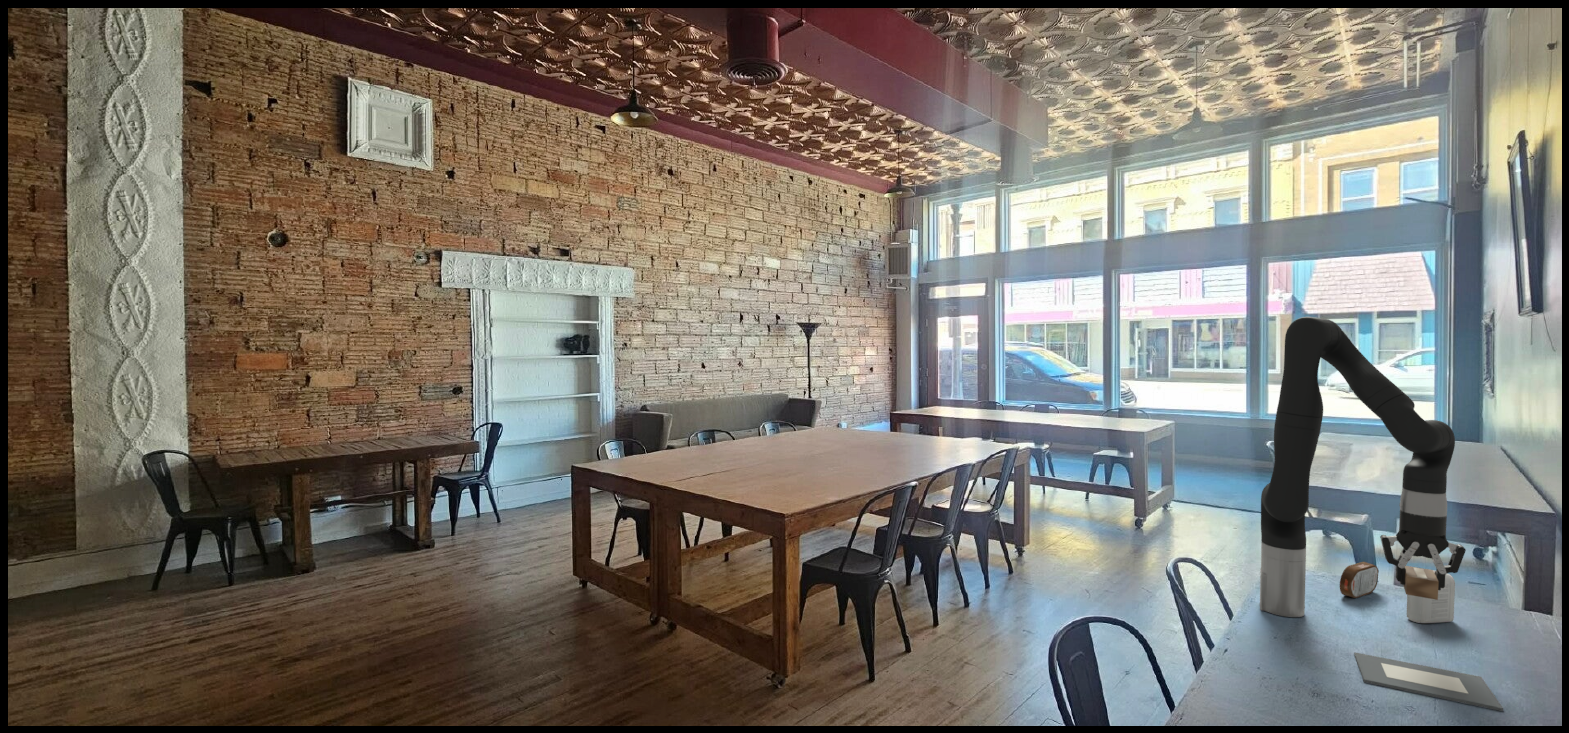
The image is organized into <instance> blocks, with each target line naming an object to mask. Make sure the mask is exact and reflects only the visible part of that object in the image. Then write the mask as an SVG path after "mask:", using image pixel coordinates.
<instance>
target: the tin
mask: <svg viewBox="0 0 1569 733" xmlns="http://www.w3.org/2000/svg"><path fill="white" fill-rule="evenodd" d="M1378 578H1379V568H1378V566H1377V565H1375V564H1372V563H1370V562H1367V561H1361V562H1358V563H1354V564H1350V565H1348V566H1345V569H1344V570H1343V572H1342V573H1341V576H1340V580H1339V591H1340V593H1341V594H1342V595H1343V596H1347V597H1349V598H1352V599H1358V598H1361V597H1364V596H1366V595H1370V594H1372V593H1373V592H1374V591H1375V590H1376V588H1377V585H1378Z"/></svg>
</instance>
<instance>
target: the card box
mask: <svg viewBox="0 0 1569 733" xmlns="http://www.w3.org/2000/svg"><path fill="white" fill-rule="evenodd" d="M1405 569H1406V572H1405V585H1402V586H1403V590H1404V592H1405V595H1406V596H1407V595H1412V596H1418V597H1424V598H1429V599H1435V600H1438V583H1439V581H1438V579H1437V577H1436V575H1435V573H1434V571H1433V569H1429V568H1422V567H1415V566H1409V565H1406V566H1405Z"/></svg>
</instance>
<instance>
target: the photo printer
mask: <svg viewBox="0 0 1569 733" xmlns="http://www.w3.org/2000/svg"><path fill="white" fill-rule="evenodd" d="M1432 570H1433V569H1432ZM1433 571H1434V573H1435V571H1436V569H1435V570H1433ZM1406 596H1407V597H1406V618H1407V619H1408V620H1409V621H1411V622H1414V623H1418V624H1435V623H1450V622H1453V621H1454V620H1455V598H1456V597H1455V596H1456V582H1455V579H1454V577H1453V576H1452V575H1451V573H1447V574H1446V575H1445V587H1444V588H1441V590H1438V600H1435V599H1429V598H1424V597H1418V596H1412V595H1407V594H1406Z"/></svg>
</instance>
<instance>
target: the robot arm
mask: <svg viewBox="0 0 1569 733" xmlns="http://www.w3.org/2000/svg"><path fill="white" fill-rule="evenodd" d="M1283 352H1284V355H1283V356H1284V357H1283V358H1284V359H1283V373H1282V378H1281V383H1280V384H1281V385H1280V390H1279V391H1280V392H1279V399H1278V404H1277V407H1276V413H1275V420H1274V428H1273V450H1274V451H1273V452H1274V463H1273V469H1272V472H1271V473H1272V474H1271V478H1270V482H1268V484H1266V485H1265V486H1264V487H1263V489H1262V490H1261V496H1260V532H1261V533H1260V534H1261V541H1260V543H1261V546H1260V547H1261V548H1260V550H1261V551H1260V552H1261V553H1260V554H1261V555H1260V568H1259V569H1260V576H1259V578H1260V579H1259V610H1260V611H1263V612H1267V613H1269V614H1273V615H1276V616H1280V617H1281V616H1282V617H1286V618H1301V617H1304V616H1305V611H1306V574H1307V573H1306V571H1307V570H1306V568H1307V567H1306V564H1307V557H1306V556H1307V533H1306V514H1307V513H1308V510H1309V505H1310V504H1309V503H1310V502H1309V501H1310V500H1309V499H1310V498H1309V497H1310V494H1309V493H1310V476H1311V468H1312V464H1313V461H1314V458H1315V455H1316V450H1317V448H1318V447H1317V445H1318V442H1319V438H1320V433H1321V429H1322V428H1321V427H1322V425H1323V424H1322V422H1323V417H1324V403H1323V399H1322V398H1323V397H1322V393H1321V391H1320V387H1319V386H1320V385H1319V380H1318V378H1319V376H1318V374H1319V373H1318V372H1319V366H1320V361H1321V359H1322V360H1323V361H1325V362H1327V363H1329V364H1330V365H1331V366H1332V367H1334V368H1335V369H1336V370H1337V371H1338V373H1339V374H1340V375H1341V376H1342V377H1343V379H1344V380H1345V382H1346V383H1347V384H1348V386H1349V387H1350V390H1351V391H1352V392H1353V393H1354V395H1355V396H1356V397H1357V399H1358V400H1360V402H1362V403H1363V405H1365V406H1366V408H1368V409H1369V410H1370V411H1371V412H1372V413H1373V414H1375V415H1376V417H1378V418H1380V420H1381V421H1382V423H1383V425H1384V426H1385V428H1386V429H1387V431H1388V432H1389V433H1390V434H1391V436H1392V437H1393V439H1395V440H1394V441H1396V442H1397V443H1398V444H1399V445H1400V446H1402V447H1403V448H1405V449H1406V450H1407V451H1409V452H1411V453H1412V455H1411V460H1410V461H1409V462H1408V463H1406V464H1405V465H1404V467H1403V472H1402V490H1401V493H1400V499H1399V500H1400V501H1399V524H1398V525H1399V528H1398V531H1397V533H1396V534H1395V535H1386V534H1382V535H1380V542H1381V545H1382V549H1383V553H1384V558H1385V560H1386V562H1387V563H1388V564H1390V565H1391V564H1392V565H1393V566H1395V579H1396V580H1397V582H1399V584H1400V585H1402V586H1403V585H1405V572H1406V569H1405V566H1407V564H1408V562H1409V561H1410V560H1412V558H1413V557H1423V558H1427V559H1431V560H1432V562H1433V564H1434V567H1435V575H1436V577H1437V579H1438V581H1439V583H1438V590H1441V588H1444V587H1445V575H1446V574H1457V573H1458V572H1459V570H1460V567H1461V564H1462V561H1463V558H1464V556H1465V553H1466V550H1467V549H1466V548H1465V547H1464V545H1462V544H1461V543H1460V544H1459V543H1456V544H1455V543H1453V542H1449V541H1448V539H1447V518H1448V500H1447V484H1448V483H1447V479H1448V477H1447V474H1448V469H1449V466H1450V465H1451V462H1452V458H1453V455H1454V451H1455V447H1456V445H1455V444H1456V437H1455V433H1454V431H1453V429H1452V427H1450V425H1448V424H1447V423H1446V422H1443V421H1441V420H1438V419H1437V420H1436V419H1425V420H1424V419H1423V418H1422V416H1420V415H1419V414H1418V413H1417V411H1416V410H1415V402H1414V401H1413V400H1412V398H1411V397H1410V396H1409V395H1407V394H1406V393H1405V392H1404V391H1403V390H1401V389H1400V387H1398V386H1397V384H1395V383H1393V381H1391V380H1390V379H1389V378H1388V377H1387V376H1385V375H1384V374H1383V373H1382V372H1381V371H1380V370H1379V369H1378V368H1377V367H1375V366H1374V365H1373V363H1371V362H1370V360H1368V358H1366V357H1365V355H1364V354H1363V353H1362V352H1361V351H1360V349H1358V348H1357V347H1356V346H1355V345H1354V343H1353V342H1352V340H1351V339H1350V338H1349V337H1348V335H1347V334H1346V333H1345V332H1344V331H1343V330H1342V328H1341V327H1340V326H1339V325H1338V324H1337V323H1336V322H1335V321H1333V320H1330V319H1328V318H1323V317H1315V316H1302V317H1299V318H1297V319H1295V320H1293V322H1291V323H1290V324H1289V326H1288V327H1287V329H1286V331H1285V337H1284V351H1283ZM1396 542H1398V543H1399V544H1400V546H1401V547H1402V550H1401V551H1400V553H1399V556H1398V557H1397V558H1395V557H1394V554H1393V551H1392V547H1394V546H1395V543H1396ZM1447 548H1449V549H1448V550H1449V552H1450V553H1451V556H1450V559H1449V561H1448V564H1447V565H1444V563H1443V560H1442V558H1441V557H1440V556H1441V555H1440V554H1441V553H1442V552H1443V551H1445V550H1446V549H1447Z"/></svg>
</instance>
